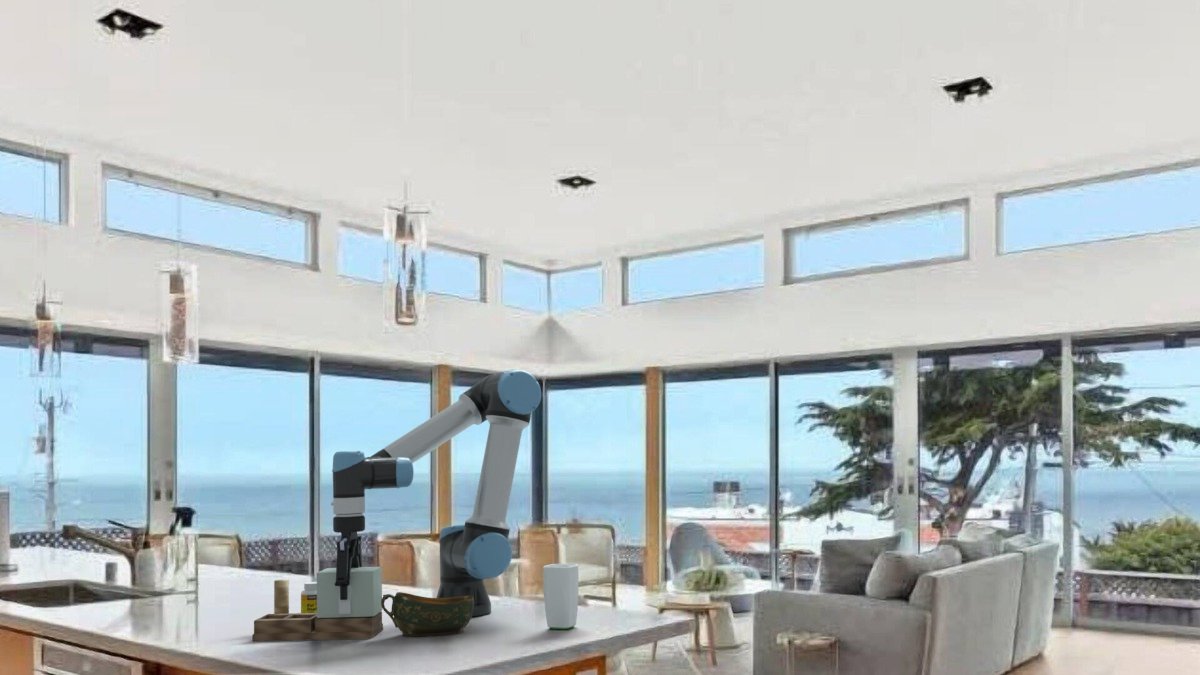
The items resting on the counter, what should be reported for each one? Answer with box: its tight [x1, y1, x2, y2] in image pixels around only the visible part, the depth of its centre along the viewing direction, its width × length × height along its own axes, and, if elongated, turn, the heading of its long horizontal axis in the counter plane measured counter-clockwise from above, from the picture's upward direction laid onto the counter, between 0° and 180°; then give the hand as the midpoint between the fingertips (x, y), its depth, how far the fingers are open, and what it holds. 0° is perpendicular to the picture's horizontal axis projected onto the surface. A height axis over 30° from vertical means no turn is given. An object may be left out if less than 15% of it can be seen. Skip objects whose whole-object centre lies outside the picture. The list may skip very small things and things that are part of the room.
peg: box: [273, 579, 290, 614], centre depth 268 cm, size 4×4×12 cm
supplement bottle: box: [300, 581, 317, 613], centre depth 277 cm, size 6×6×10 cm
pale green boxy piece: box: [316, 566, 383, 618], centre depth 259 cm, size 14×9×10 cm, turn 89°
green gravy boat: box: [381, 591, 474, 638], centre depth 258 cm, size 13×20×10 cm, turn 78°
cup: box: [542, 563, 579, 630], centre depth 261 cm, size 7×7×15 cm
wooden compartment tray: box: [252, 611, 384, 642], centre depth 259 cm, size 28×12×14 cm, turn 89°
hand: (350, 610), depth 259 cm, fingers closed on pale green boxy piece, 9 cm apart
